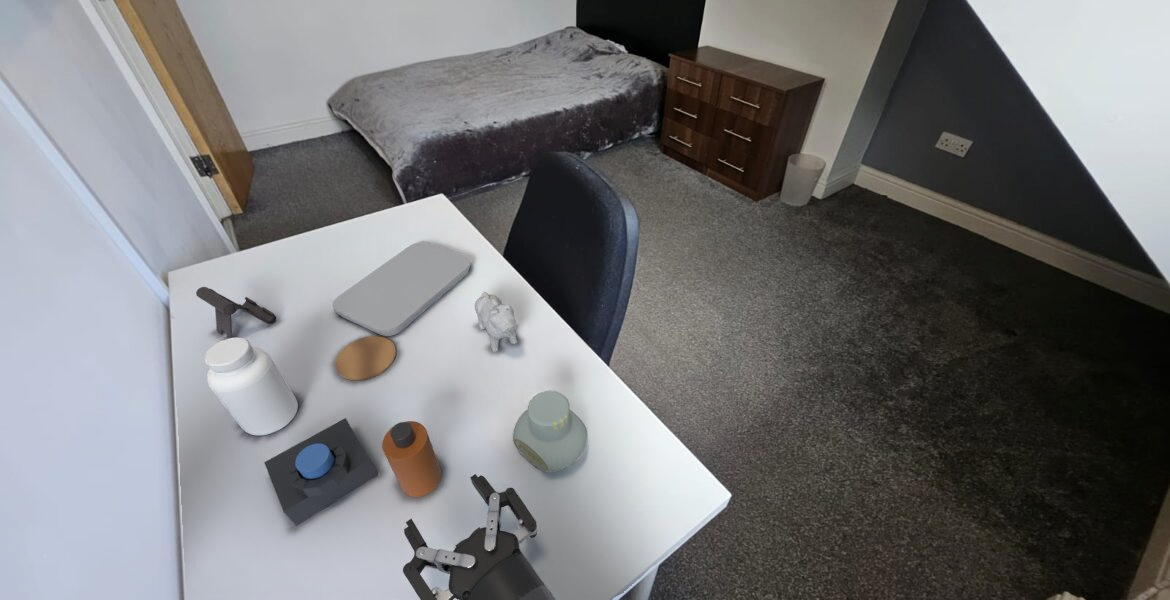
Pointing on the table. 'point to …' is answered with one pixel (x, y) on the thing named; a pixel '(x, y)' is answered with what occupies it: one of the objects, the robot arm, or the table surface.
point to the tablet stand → (232, 310)
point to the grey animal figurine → (496, 319)
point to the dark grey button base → (316, 494)
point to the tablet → (402, 288)
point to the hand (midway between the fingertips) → (442, 500)
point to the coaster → (365, 358)
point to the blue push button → (314, 461)
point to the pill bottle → (250, 386)
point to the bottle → (412, 458)
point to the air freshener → (550, 432)
